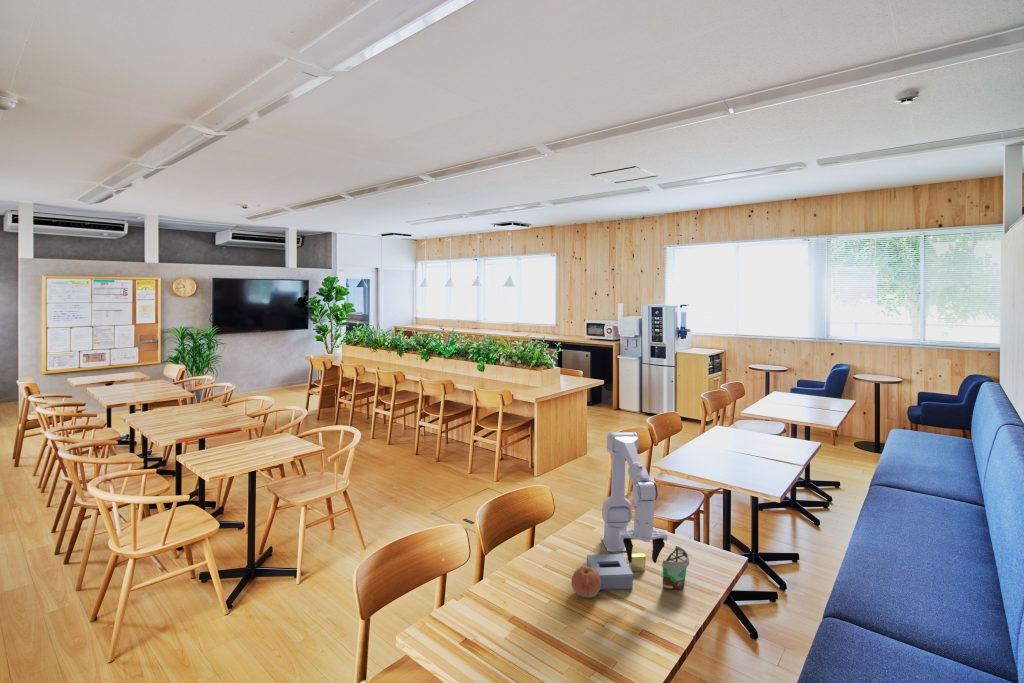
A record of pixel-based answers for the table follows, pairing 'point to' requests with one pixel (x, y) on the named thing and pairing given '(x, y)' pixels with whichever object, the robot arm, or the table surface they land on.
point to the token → (638, 562)
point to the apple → (586, 582)
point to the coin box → (611, 571)
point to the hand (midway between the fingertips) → (641, 561)
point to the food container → (675, 570)
